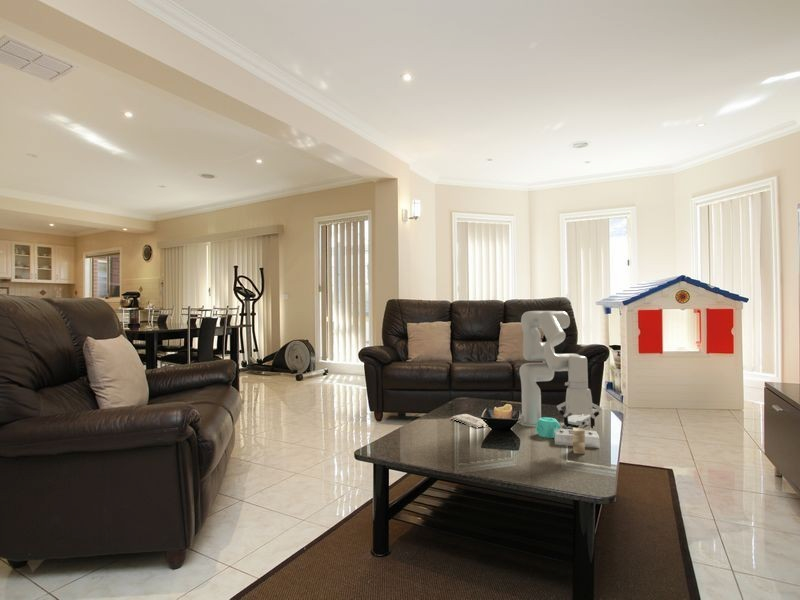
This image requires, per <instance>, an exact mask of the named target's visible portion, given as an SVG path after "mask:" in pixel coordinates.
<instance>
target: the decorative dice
mask: <svg viewBox="0 0 800 600" xmlns="http://www.w3.org/2000/svg"><path fill="white" fill-rule="evenodd" d="M554 428H558V429H561V425H560V423H559V421H558V420H557V419H556V418H553V417H544V416H543V417H541V418H540V419H539V420H538V421H537V423H536V427H535V429H536V430H535V431H536V433H537V435H538V436H539V437H541V438H546V439H554Z"/></svg>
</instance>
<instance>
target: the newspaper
mask: <svg viewBox="0 0 800 600" xmlns="http://www.w3.org/2000/svg"><path fill="white" fill-rule="evenodd" d="M453 418H454V419H456V420H458V421H461V422H464V423H466V424H469V425H471V427H472V426H473V427H472V428H475V427H476V428H475V429H477V427H478V426H479V425H483V424H486V423H485V422H484V421H483V420H484V419H482V418H480V417H477V416H473V415H471V414H467V413H462V414H457V415H453V416H452V417H451V419H453ZM486 426H487V425H486Z"/></svg>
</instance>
